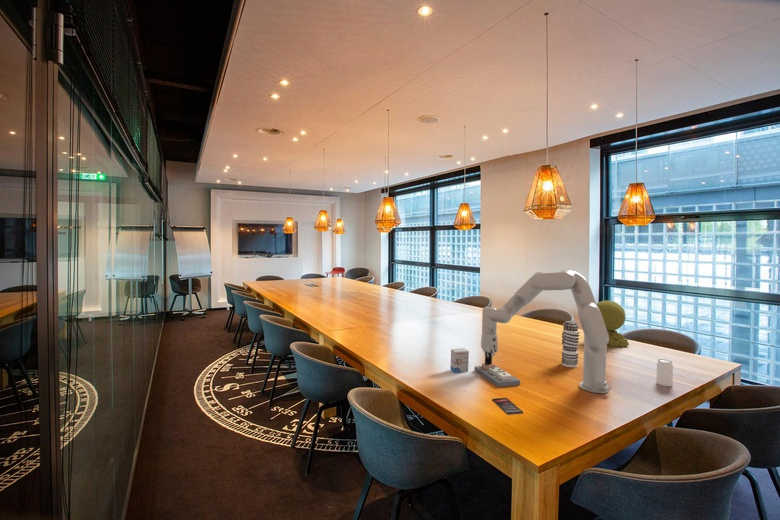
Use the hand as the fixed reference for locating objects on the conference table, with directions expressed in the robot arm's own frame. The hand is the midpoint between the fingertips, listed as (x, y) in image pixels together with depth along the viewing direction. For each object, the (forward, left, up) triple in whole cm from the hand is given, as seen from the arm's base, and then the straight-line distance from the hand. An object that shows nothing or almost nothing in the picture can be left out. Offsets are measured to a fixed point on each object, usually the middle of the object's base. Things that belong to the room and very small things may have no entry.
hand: (488, 363), depth 203 cm
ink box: (+6, +14, -5) cm, 16 cm away
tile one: (-15, 0, -3) cm, 15 cm away
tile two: (-8, 0, -3) cm, 8 cm away
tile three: (0, 0, -3) cm, 3 cm away
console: (-8, 0, -5) cm, 9 cm away
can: (-38, -76, -5) cm, 85 cm away
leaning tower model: (-1, -52, -5) cm, 52 cm away
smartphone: (-39, +13, -6) cm, 42 cm away
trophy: (+32, -111, -5) cm, 116 cm away
